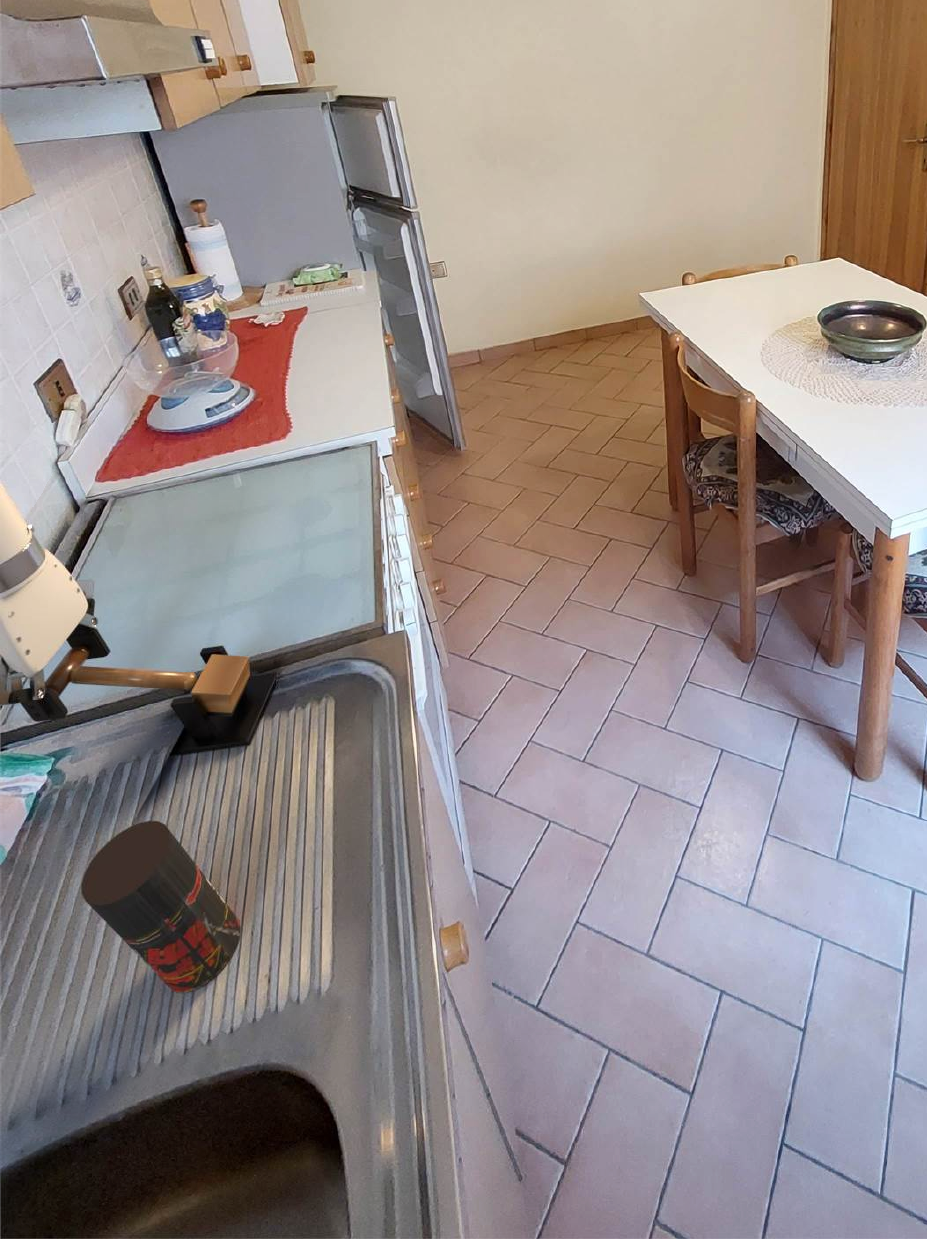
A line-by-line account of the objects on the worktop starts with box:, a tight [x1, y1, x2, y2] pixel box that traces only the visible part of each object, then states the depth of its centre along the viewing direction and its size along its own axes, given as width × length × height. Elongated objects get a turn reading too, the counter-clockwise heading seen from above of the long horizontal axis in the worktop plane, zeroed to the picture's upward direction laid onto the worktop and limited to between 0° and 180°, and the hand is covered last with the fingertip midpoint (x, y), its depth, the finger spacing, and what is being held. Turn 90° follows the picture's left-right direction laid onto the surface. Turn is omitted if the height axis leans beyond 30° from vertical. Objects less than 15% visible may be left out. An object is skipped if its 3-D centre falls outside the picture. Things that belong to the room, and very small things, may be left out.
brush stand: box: [168, 645, 280, 758], centre depth 81 cm, size 10×9×7 cm
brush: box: [45, 645, 251, 717], centre depth 79 cm, size 19×7×4 cm, turn 97°
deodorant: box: [80, 820, 242, 994], centre depth 58 cm, size 6×6×15 cm
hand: (74, 684), depth 78 cm, fingers closed on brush, 7 cm apart
